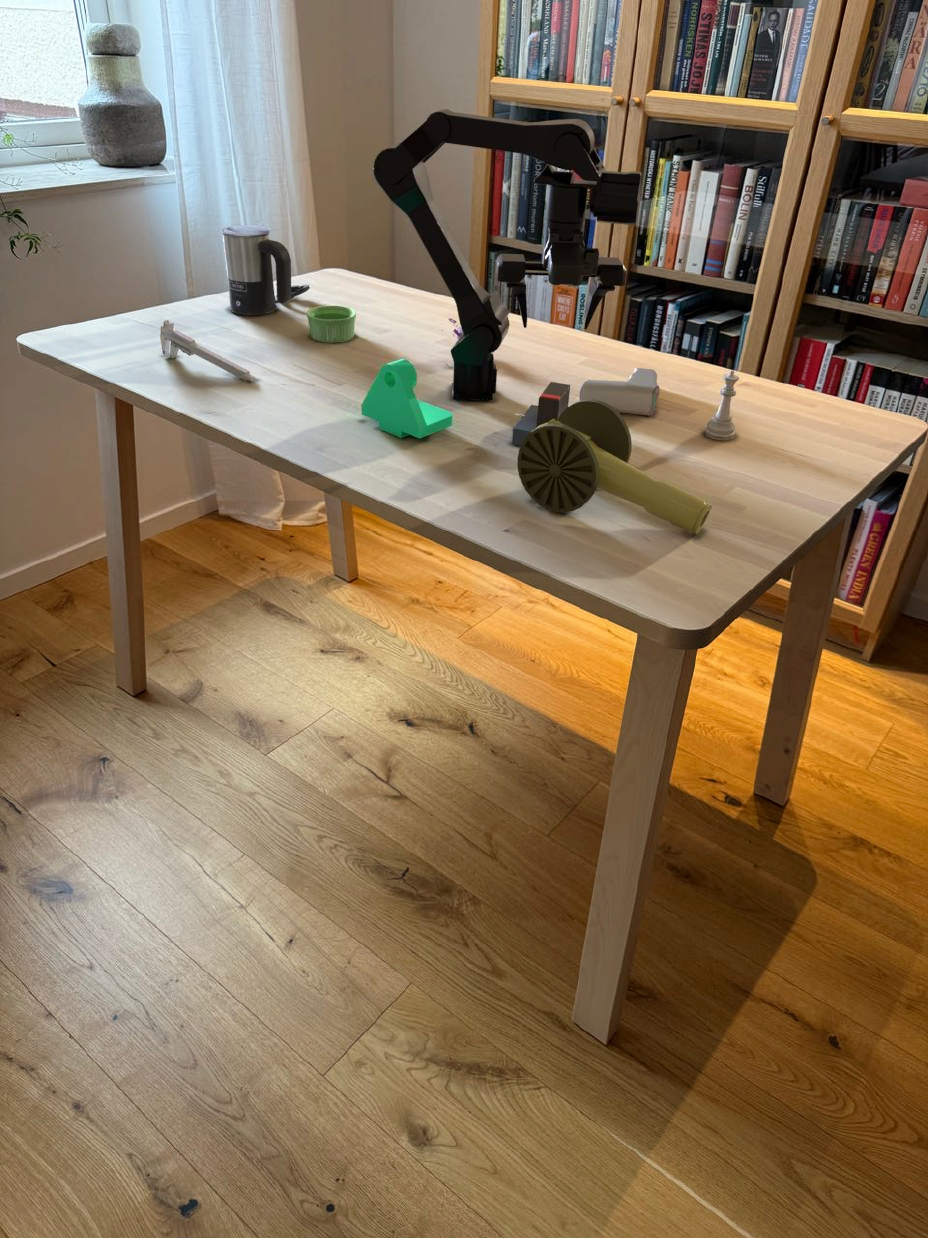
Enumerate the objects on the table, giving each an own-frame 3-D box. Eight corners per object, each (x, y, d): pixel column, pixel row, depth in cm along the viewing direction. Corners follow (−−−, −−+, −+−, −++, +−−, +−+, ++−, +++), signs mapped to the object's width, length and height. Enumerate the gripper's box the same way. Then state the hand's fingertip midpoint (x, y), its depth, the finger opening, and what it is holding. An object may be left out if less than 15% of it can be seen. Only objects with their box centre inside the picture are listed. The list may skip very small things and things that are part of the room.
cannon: (719, 516, 121) (737, 433, 114) (686, 554, 112) (704, 467, 106) (546, 466, 131) (553, 387, 124) (504, 498, 122) (509, 415, 116)
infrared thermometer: (657, 391, 159) (655, 419, 146) (585, 383, 161) (577, 410, 148) (661, 364, 157) (659, 390, 144) (589, 357, 159) (580, 381, 146)
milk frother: (221, 313, 182) (212, 232, 174) (249, 291, 195) (243, 215, 187) (292, 320, 181) (287, 238, 173) (316, 297, 194) (312, 221, 185)
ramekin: (330, 325, 179) (329, 302, 177) (366, 335, 175) (366, 311, 172) (297, 336, 173) (295, 312, 170) (334, 347, 169) (333, 322, 166)
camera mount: (455, 430, 140) (457, 363, 134) (419, 445, 135) (420, 375, 129) (397, 408, 146) (397, 342, 140) (361, 421, 141) (360, 353, 136)
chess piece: (698, 431, 144) (710, 366, 138) (722, 427, 145) (735, 364, 139) (715, 442, 140) (729, 377, 135) (739, 438, 142) (754, 373, 136)
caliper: (162, 356, 162) (157, 319, 158) (167, 354, 162) (162, 317, 159) (251, 382, 153) (248, 344, 149) (256, 380, 154) (253, 342, 150)
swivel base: (503, 444, 136) (504, 427, 135) (524, 417, 145) (525, 400, 144) (592, 460, 133) (594, 442, 132) (607, 431, 142) (610, 414, 141)
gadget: (547, 410, 141) (550, 379, 139) (567, 413, 140) (570, 382, 138) (536, 427, 136) (538, 396, 133) (556, 430, 135) (559, 399, 132)
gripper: (503, 229, 128) (496, 343, 137) (639, 234, 129) (624, 346, 138) (498, 212, 137) (492, 319, 146) (625, 216, 138) (612, 323, 147)
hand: (554, 327), depth 144 cm, fingers open, 9 cm apart
